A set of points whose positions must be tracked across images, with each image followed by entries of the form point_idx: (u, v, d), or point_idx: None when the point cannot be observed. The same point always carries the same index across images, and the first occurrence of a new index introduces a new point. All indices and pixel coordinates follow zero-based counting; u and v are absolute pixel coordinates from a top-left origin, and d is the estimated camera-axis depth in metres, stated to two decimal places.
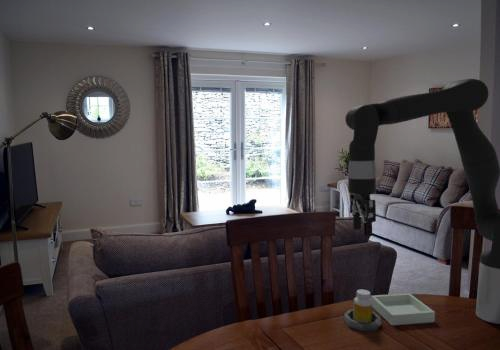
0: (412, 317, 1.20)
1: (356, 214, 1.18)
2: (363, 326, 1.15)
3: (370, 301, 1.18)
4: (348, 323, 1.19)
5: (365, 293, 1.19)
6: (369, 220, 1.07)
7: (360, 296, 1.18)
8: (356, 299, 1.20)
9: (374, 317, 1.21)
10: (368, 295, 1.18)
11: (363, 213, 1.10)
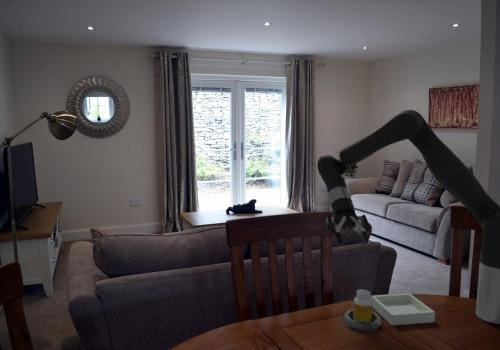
0: (412, 317, 1.20)
1: (361, 231, 1.33)
2: (363, 326, 1.15)
3: (370, 301, 1.18)
4: (348, 323, 1.19)
5: (365, 293, 1.19)
6: (328, 232, 1.32)
7: (360, 296, 1.18)
8: (356, 299, 1.20)
9: (374, 317, 1.21)
10: (368, 295, 1.18)
11: None
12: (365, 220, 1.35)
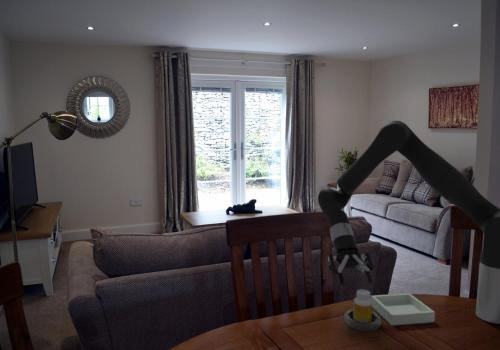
0: (412, 317, 1.20)
1: (364, 271, 1.28)
2: (363, 326, 1.15)
3: (370, 301, 1.18)
4: (348, 323, 1.19)
5: (365, 293, 1.19)
6: (330, 272, 1.27)
7: (360, 296, 1.18)
8: (356, 299, 1.20)
9: (374, 317, 1.21)
10: (368, 295, 1.18)
11: (338, 268, 1.29)
12: (368, 259, 1.30)
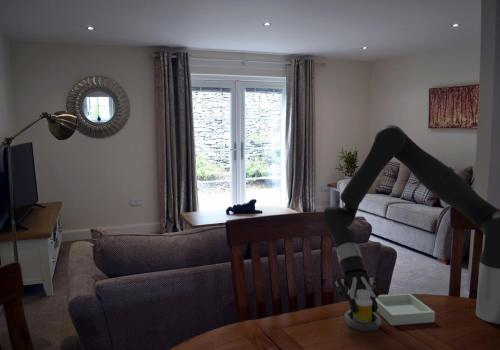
0: (412, 317, 1.20)
1: None
2: (363, 326, 1.15)
3: (370, 301, 1.18)
4: (348, 323, 1.19)
5: (365, 293, 1.19)
6: (342, 297, 1.21)
7: (360, 296, 1.18)
8: (356, 299, 1.20)
9: (374, 317, 1.21)
10: (368, 295, 1.18)
11: (348, 293, 1.23)
12: (376, 283, 1.23)
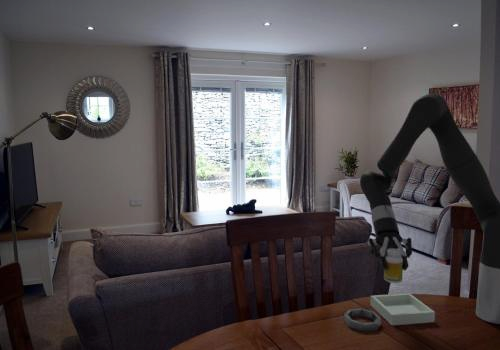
0: (412, 317, 1.20)
1: (401, 255, 1.26)
2: (363, 326, 1.15)
3: (400, 259, 1.23)
4: (348, 323, 1.19)
5: (395, 251, 1.23)
6: (373, 255, 1.26)
7: (390, 254, 1.23)
8: (386, 257, 1.24)
9: (374, 317, 1.21)
10: (398, 253, 1.22)
11: (380, 252, 1.28)
12: (409, 244, 1.27)
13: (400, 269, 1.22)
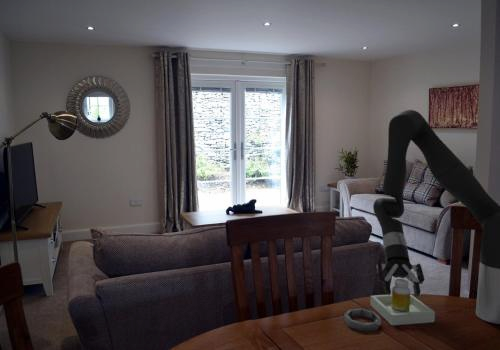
0: (412, 317, 1.20)
1: (414, 282, 1.28)
2: (363, 326, 1.15)
3: (407, 290, 1.25)
4: (348, 323, 1.19)
5: (403, 282, 1.25)
6: (377, 279, 1.29)
7: (397, 284, 1.25)
8: (394, 287, 1.27)
9: (374, 317, 1.21)
10: (405, 284, 1.24)
11: None
12: (419, 270, 1.28)
13: (407, 300, 1.24)
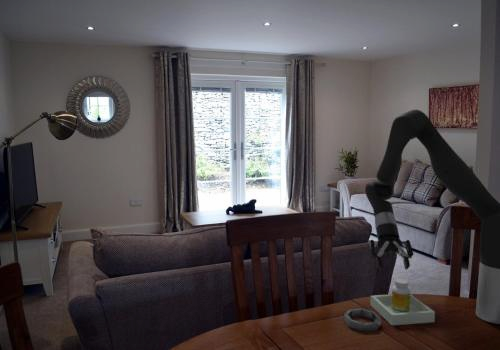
0: (412, 317, 1.20)
1: (403, 256, 1.40)
2: (363, 326, 1.15)
3: (407, 290, 1.25)
4: (348, 323, 1.19)
5: (403, 282, 1.25)
6: (371, 255, 1.41)
7: (397, 284, 1.25)
8: (394, 287, 1.27)
9: (374, 317, 1.21)
10: (405, 284, 1.24)
11: None
12: (409, 245, 1.40)
13: (407, 300, 1.24)
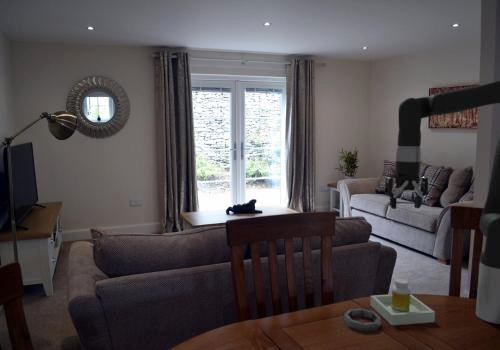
0: (412, 317, 1.20)
1: (417, 194, 1.33)
2: (363, 326, 1.15)
3: (407, 290, 1.25)
4: (348, 323, 1.19)
5: (403, 282, 1.25)
6: (385, 193, 1.32)
7: (397, 284, 1.25)
8: (394, 287, 1.27)
9: (374, 317, 1.21)
10: (405, 284, 1.24)
11: (393, 189, 1.33)
12: (426, 184, 1.32)
13: (407, 300, 1.24)
